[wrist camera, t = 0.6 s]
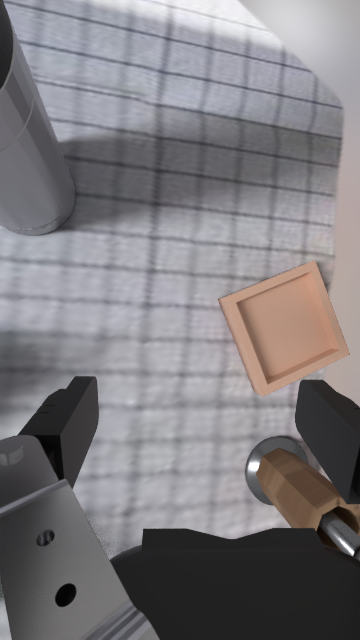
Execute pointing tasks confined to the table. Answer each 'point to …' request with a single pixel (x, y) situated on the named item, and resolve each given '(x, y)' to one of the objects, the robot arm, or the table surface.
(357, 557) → the paper towel holder
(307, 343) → the tray
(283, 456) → the octagonal pencil holder
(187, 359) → the table surface
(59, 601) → the robot arm
